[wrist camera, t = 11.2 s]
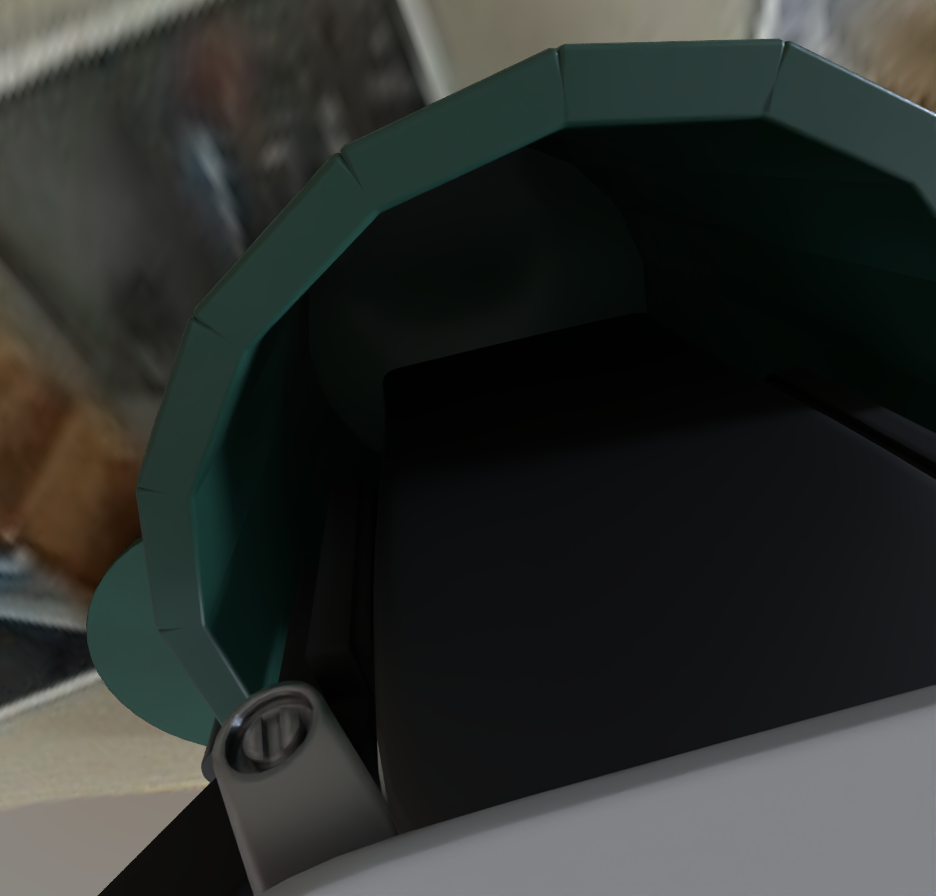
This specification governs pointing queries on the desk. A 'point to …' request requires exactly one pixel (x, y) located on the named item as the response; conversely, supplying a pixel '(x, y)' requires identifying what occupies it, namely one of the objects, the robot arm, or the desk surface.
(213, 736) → the lid
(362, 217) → the tin
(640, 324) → the battery charger
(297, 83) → the desk surface
